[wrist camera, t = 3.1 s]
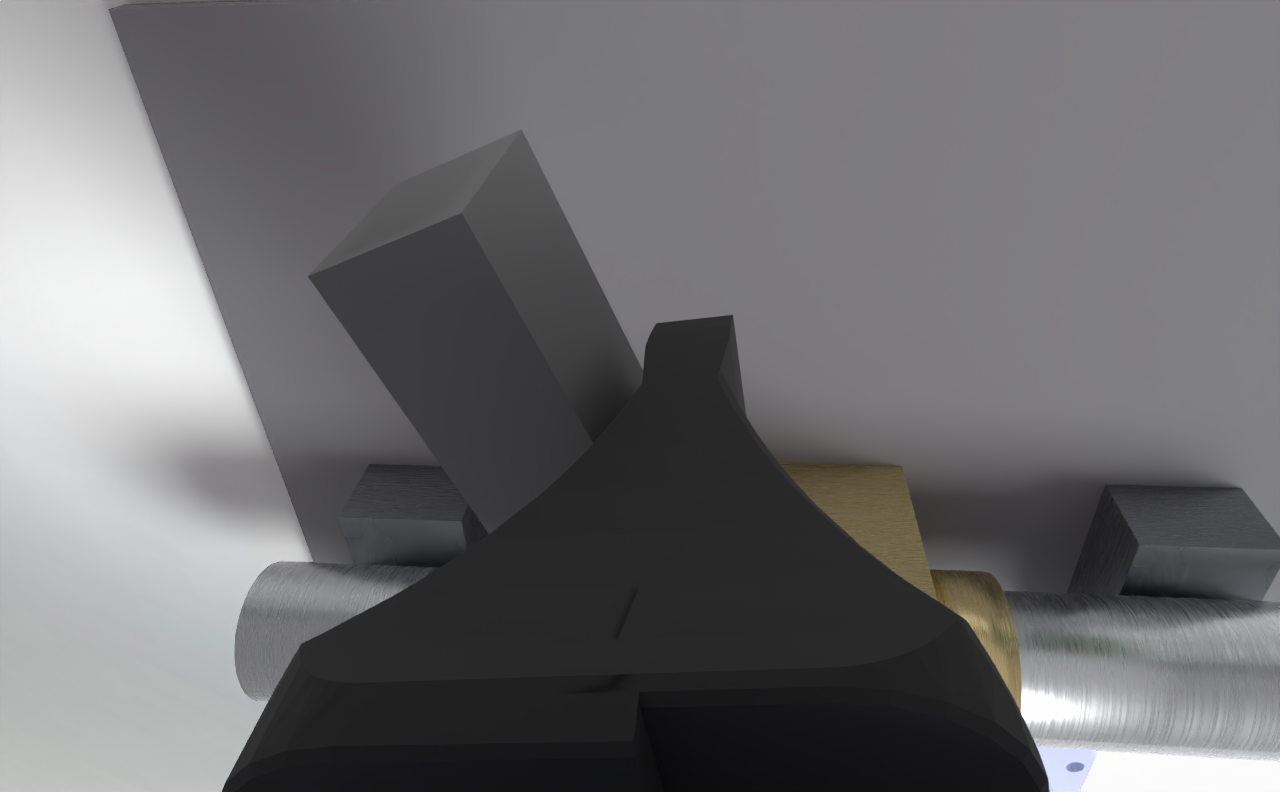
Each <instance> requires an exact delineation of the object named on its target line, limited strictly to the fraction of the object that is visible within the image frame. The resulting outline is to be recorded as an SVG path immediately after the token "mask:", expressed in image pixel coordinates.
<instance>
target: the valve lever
mask: <svg viewBox="0 0 1280 792" xmlns="http://www.w3.org/2000/svg"><path fill="white" fill-rule="evenodd" d="M308 277H309V279H310V280H311V282H312V283H313V284H314V286H315V287H316V289H317V290H318V292H319V293H320V294H321V296H322V297H323V299H324V300H325V301H326V303H327V304H328V306H329V307H330V309H331V310H332V311H333V313H334V314H335V316H336V317H337V319H338V320H339V321H340V323H341V324H342V326H343V327H344V328H345V330H346V331H347V333H348V334H349V336H350V337H351V338H352V340H353V341H354V343H355V344H356V345H357V347H358V348H359V350H360V351H361V353H362V354H363V355H364V357H365V358H366V360H367V361H368V363H369V364H370V365H371V367H372V368H373V370H374V371H375V372H376V374H377V375H378V377H379V378H380V380H381V381H382V382H383V384H384V385H385V387H386V388H387V390H388V391H389V392H390V394H391V395H392V397H393V398H394V399H395V401H396V402H397V404H398V405H399V407H400V408H401V409H402V411H403V412H404V414H405V415H406V416H407V418H408V419H409V421H410V422H411V424H412V425H413V426H414V428H415V429H416V431H417V432H418V434H419V435H420V436H421V438H422V439H423V441H424V442H425V443H426V445H427V446H428V448H429V449H430V451H431V452H432V453H433V455H434V456H435V458H436V459H437V461H438V462H439V463H440V465H441V466H442V468H443V469H444V470H445V472H446V473H447V475H448V476H449V478H450V479H451V480H452V482H453V483H454V485H455V486H456V487H457V489H458V490H459V492H460V493H461V495H462V496H463V497H464V499H465V500H466V502H467V503H468V505H469V506H470V507H471V509H472V510H473V512H474V513H475V514H476V516H477V517H478V519H479V520H480V522H481V523H482V524H483V526H484V527H485V529H486V530H487V532H488V533H489V534H490V533H491V532H493V531H494V530H495V529H496V528H498V527H499V526H500V525H502V524H503V523H504V522H505V521H507V520H508V519H509V518H511V517H512V516H513V515H514V514H516V513H517V512H518V511H520V510H521V509H522V508H523V507H525V506H526V505H527V504H529V503H530V502H531V501H532V500H534V499H535V498H536V497H538V496H539V495H540V494H541V493H542V492H543V491H545V490H546V489H547V488H548V487H549V486H550V485H551V484H552V483H553V482H555V481H556V480H557V479H558V478H559V477H560V476H561V475H562V474H563V473H564V472H565V471H566V470H568V469H569V468H570V467H571V466H572V465H573V464H574V463H575V462H576V461H577V460H578V459H579V458H580V457H581V456H582V455H583V454H584V453H585V452H586V451H587V450H588V449H589V448H590V446H591V445H592V444H593V443H594V442H595V441H596V440H597V438H598V437H599V436H600V435H601V434H602V433H603V431H604V430H605V429H606V428H607V427H608V426H609V424H610V423H611V422H612V421H613V420H614V419H615V417H616V416H617V415H618V414H619V413H620V412H621V410H622V409H623V408H624V407H625V405H626V404H627V403H628V401H629V400H630V399H631V397H632V396H633V395H634V393H635V392H636V391H637V389H638V388H639V387H640V385H641V384H642V379H643V369H642V367H641V365H640V363H639V361H638V359H637V358H636V356H635V354H634V352H633V350H632V348H631V346H630V344H629V342H628V340H627V338H626V336H625V334H624V332H623V330H622V328H621V326H620V324H619V322H618V320H617V318H616V316H615V314H614V312H613V310H612V308H611V306H610V304H609V302H608V300H607V298H606V296H605V294H604V292H603V290H602V288H601V286H600V284H599V282H598V280H597V278H596V276H595V274H594V272H593V270H592V268H591V266H590V264H589V262H588V260H587V258H586V256H585V254H584V252H583V250H582V248H581V246H580V244H579V242H578V240H577V238H576V236H575V234H574V232H573V230H572V228H571V226H570V224H569V223H568V221H567V219H566V217H565V215H564V213H563V211H562V209H561V207H560V205H559V203H558V201H557V199H556V197H555V195H554V193H553V191H552V189H551V187H550V185H549V183H548V181H547V179H546V177H545V175H544V173H543V171H542V169H541V167H540V165H539V163H538V161H537V159H536V157H535V155H534V153H533V151H532V149H531V147H530V145H529V143H528V141H527V139H526V137H525V135H524V133H523V131H522V129H521V130H519V131H516V132H514V133H512V134H510V135H507V136H505V137H503V138H500V139H498V140H496V141H494V142H491V143H489V144H487V145H484V146H482V147H480V148H478V149H475V150H473V151H471V152H468V153H466V154H464V155H462V156H459V157H457V158H455V159H452V160H450V161H448V162H446V163H443V164H441V165H439V166H436V167H434V168H432V169H430V170H427V171H425V172H423V173H420V174H418V175H416V176H413V177H411V178H409V179H407V180H404V181H402V182H400V183H397V184H396V185H395V186H394V187H393V188H392V189H391V190H390V191H389V192H388V193H387V194H386V195H385V196H384V197H383V198H382V200H381V201H380V202H379V203H378V204H377V205H376V206H375V207H374V208H373V209H372V210H371V211H370V212H369V213H368V214H367V215H366V216H365V217H364V218H363V219H362V220H361V221H360V222H359V223H358V225H357V226H356V227H355V228H354V229H353V230H352V231H351V232H350V233H349V234H348V235H347V236H346V237H345V238H344V239H343V240H342V241H341V242H340V243H339V244H338V245H337V246H336V247H335V248H334V250H333V251H332V252H331V253H330V254H329V255H328V256H327V257H326V258H325V259H324V260H323V261H322V262H321V263H320V264H319V265H318V266H317V267H316V268H315V269H314V270H313V271H312V272H311V274H310V275H309V276H308Z"/></svg>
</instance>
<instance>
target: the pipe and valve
mask: <svg viewBox="0 0 1280 792" xmlns="http://www.w3.org/2000/svg"><path fill="white" fill-rule="evenodd" d="M779 464H780V465H781V466H782V467H783V468H784V470H785V471H786V472H787V473H788V475H789V476H790V477H791V478H792V479H793V480H794V481H795V482H796V484H797V485H798V486H799V487H800V488H801V489H802V490H803V491H804V492H805V493H806V494H807V496H808V497H809V498H810V499H811V500H812V501H813V502H814V503H815V504H816V505H817V506H818V507H819V508H820V509H821V510H822V511H824V512H825V513H826V514H827V515H828V516H829V517H830V518H831V519H832V520H833V521H834V522H836V523H837V524H838V525H839V526H840V527H841V528H842V529H843V530H844V531H845V532H846V533H848V534H849V535H850V536H851V537H852V538H853V539H854V540H855V541H856V542H857V543H858V544H860V545H861V546H862V547H863V548H864V549H866V550H867V551H868V552H869V553H871V554H872V555H873V556H874V557H876V558H877V559H878V560H880V561H881V562H882V563H883V564H885V565H886V566H887V567H888V568H890V569H891V570H892V571H894V572H895V573H896V574H897V575H899V576H900V577H902V578H903V579H904V580H906V581H907V582H909V583H910V584H912V585H914V586H915V587H917V588H918V589H920V590H921V591H923V592H924V593H926V594H927V595H929V596H930V597H932V598H934V599H935V600H937V601H938V602H940V603H941V604H943V605H944V606H946V607H947V608H949V609H951V610H952V611H954V612H955V613H957V614H958V615H960V616H961V617H963V618H964V619H965V620H967V622H968V623H969V625H970V626H971V628H972V629H973V631H974V632H975V634H976V635H977V637H978V639H979V640H980V642H981V643H982V645H983V647H984V648H985V650H986V651H987V653H988V655H989V656H990V658H991V659H992V661H993V663H994V664H995V666H996V668H997V669H998V671H999V673H1000V675H1001V676H1002V678H1003V680H1004V682H1005V684H1006V685H1007V687H1008V689H1009V691H1010V692H1011V694H1012V696H1013V698H1014V700H1015V702H1016V704H1017V706H1018V708H1019V710H1020V712H1021V714H1022V716H1023V718H1024V720H1025V722H1026V724H1027V727H1028V729H1029V731H1030V733H1031V735H1032V737H1033V740H1034V742H1035V744H1036V746H1037V747H1044V748H1061V749H1078V750H1095V751H1112V752H1129V753H1146V754H1162V755H1179V756H1196V757H1213V758H1230V759H1247V760H1264V761H1280V602H1271V601H1262V600H1263V598H1264V596H1265V594H1266V592H1267V591H1268V589H1269V587H1270V585H1271V583H1272V582H1273V580H1274V578H1275V576H1276V574H1277V573H1278V571H1279V569H1280V537H1279V535H1278V534H1277V533H1276V531H1275V530H1274V529H1273V528H1272V526H1271V525H1270V524H1269V522H1268V521H1267V520H1266V519H1265V517H1264V516H1263V515H1262V513H1261V512H1260V511H1259V509H1258V508H1257V507H1256V506H1255V504H1254V503H1253V502H1252V500H1251V499H1250V498H1249V496H1248V495H1247V494H1246V493H1245V491H1244V490H1243V489H1242V488H1219V487H1183V486H1147V485H1111V484H1105V487H1104V490H1103V493H1102V495H1101V498H1100V501H1099V504H1098V507H1097V509H1096V512H1095V515H1094V518H1093V520H1092V523H1091V526H1090V529H1089V532H1088V534H1087V537H1086V540H1085V543H1084V546H1083V548H1082V551H1081V554H1080V557H1079V560H1078V562H1077V565H1076V568H1075V571H1074V574H1073V576H1072V579H1071V582H1070V585H1069V588H1068V590H1067V593H1051V592H1026V591H1003V589H1002V587H1001V585H1000V584H999V582H998V581H997V579H996V578H995V577H994V576H993V575H992V574H990V573H989V572H985V571H962V570H936V569H929V566H928V562H927V559H926V555H925V551H924V547H923V543H922V540H921V536H920V532H919V528H918V524H917V520H916V517H915V513H914V509H913V505H912V501H911V498H910V494H909V490H908V486H907V482H906V479H905V475H904V471H903V467H902V466H894V465H855V464H817V463H779ZM338 518H339V521H340V524H341V527H342V530H343V533H344V536H345V539H346V542H347V545H348V548H349V551H350V554H351V557H352V560H353V563H354V564H340V563H315V562H291V561H280V562H276V563H273V564H271V565H270V566H268V567H267V568H266V569H265V570H264V571H263V572H262V573H261V574H260V575H259V576H258V577H257V579H256V580H255V582H254V583H253V585H252V587H251V588H250V590H249V592H248V594H247V596H246V599H245V601H244V604H243V606H242V610H241V613H240V616H239V620H238V625H237V630H236V637H235V666H236V672H237V676H238V680H239V682H240V685H241V687H242V689H243V690H244V692H245V693H246V694H247V695H248V696H249V697H250V698H251V699H253V700H256V701H269V699H270V698H271V696H272V694H273V692H274V690H275V688H276V686H277V685H278V683H279V681H280V679H281V678H282V676H283V674H284V672H285V671H286V669H287V667H288V665H289V664H290V662H291V660H292V658H293V657H294V655H295V653H296V652H297V650H298V648H299V647H300V645H301V644H302V643H304V642H306V641H308V640H310V639H312V638H314V637H316V636H318V635H320V634H322V633H324V632H326V631H328V630H330V629H332V628H333V627H335V626H337V625H339V624H341V623H343V622H345V621H347V620H349V619H350V618H352V617H354V616H356V615H358V614H360V613H362V612H364V611H365V610H367V609H369V608H371V607H373V606H375V605H377V604H379V603H381V602H382V601H384V600H386V599H388V598H390V597H392V596H394V595H395V594H397V593H399V592H400V591H402V590H404V589H406V588H407V587H409V586H411V585H412V584H414V583H416V582H417V581H419V580H421V579H422V578H424V577H425V576H427V575H429V574H430V573H432V572H433V571H435V570H437V569H438V568H440V567H442V566H443V565H445V564H446V563H448V562H449V561H451V560H452V559H454V558H455V557H457V556H458V555H460V554H461V553H463V552H464V551H466V550H467V549H469V548H470V547H472V546H473V545H475V544H476V543H478V542H479V541H480V540H482V539H483V538H485V537H486V536H487V535H489V533H488V532H487V530H486V529H485V527H484V526H483V524H482V523H481V522H480V520H479V519H478V517H477V516H476V514H475V513H474V512H473V510H472V509H471V507H470V506H469V505H468V503H467V502H466V500H465V499H464V497H463V496H462V495H461V493H460V492H459V490H458V489H457V487H456V486H455V485H454V483H453V482H452V480H451V479H450V478H449V476H448V475H447V473H446V472H445V470H444V469H443V468H442V466H425V465H389V464H369V465H368V466H367V468H366V470H365V472H364V473H363V475H362V477H361V479H360V480H359V482H358V484H357V485H356V487H355V489H354V491H353V492H352V494H351V496H350V498H349V499H348V501H347V503H346V504H345V506H344V508H343V510H342V511H341V513H340V515H339V517H338Z"/></svg>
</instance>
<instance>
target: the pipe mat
mask: <svg viewBox="0 0 1280 792" xmlns="http://www.w3.org/2000/svg"><path fill="white" fill-rule="evenodd" d="M109 12H110V14H111V17H112V20H113V23H114V25H115V28H116V31H117V33H118V36H119V39H120V41H121V44H122V47H123V49H124V52H125V55H126V57H127V60H128V63H129V66H130V68H131V71H132V74H133V76H134V79H135V82H136V84H137V87H138V90H139V92H140V95H141V98H142V101H143V103H144V106H145V109H146V111H147V114H148V117H149V119H150V122H151V125H152V127H153V130H154V133H155V135H156V138H157V141H158V144H159V146H160V149H161V152H162V154H163V157H164V160H165V162H166V165H167V168H168V170H169V173H170V176H171V178H172V181H173V184H174V187H175V189H176V192H177V195H178V197H179V200H180V203H181V205H182V208H183V211H184V213H185V216H186V219H187V221H188V224H189V227H190V230H191V232H192V235H193V238H194V240H195V243H196V246H197V248H198V251H199V254H200V256H201V259H202V262H203V265H204V267H205V270H206V273H207V275H208V278H209V281H210V283H211V286H212V289H213V291H214V294H215V297H216V299H217V302H218V305H219V308H220V310H221V313H222V316H223V318H224V321H225V324H226V326H227V329H228V332H229V334H230V337H231V340H232V342H233V345H234V348H235V351H236V353H237V356H238V359H239V361H240V364H241V367H242V369H243V372H244V375H245V377H246V380H247V383H248V385H249V388H250V391H251V394H252V396H253V399H254V402H255V404H256V407H257V410H258V412H259V415H260V418H261V420H262V423H263V426H264V429H265V431H266V434H267V437H268V439H269V442H270V445H271V447H272V450H273V453H274V455H275V458H276V461H277V463H278V466H279V469H280V472H281V474H282V477H283V480H284V482H285V485H286V488H287V490H288V493H289V496H290V498H291V501H292V504H293V506H294V509H295V512H296V515H297V517H298V520H299V523H300V525H301V528H302V531H303V533H304V536H305V539H306V541H307V544H308V547H309V549H310V552H311V555H312V558H313V560H314V562H315V563H340V564H354V563H353V560H352V557H351V554H350V551H349V548H348V545H347V542H346V539H345V536H344V533H343V530H342V527H341V524H340V521H339V518H338V517H339V515H340V513H341V511H342V510H343V508H344V506H345V504H346V503H347V501H348V499H349V498H350V496H351V494H352V492H353V491H354V489H355V487H356V485H357V484H358V482H359V480H360V479H361V477H362V475H363V473H364V472H365V470H366V468H367V466H368V465H369V464H389V465H425V466H441V465H440V463H439V462H438V461H437V459H436V458H435V456H434V455H433V453H432V452H431V451H430V449H429V448H428V446H427V445H426V443H425V442H424V441H423V439H422V438H421V436H420V435H419V434H418V432H417V431H416V429H415V428H414V426H413V425H412V424H411V422H410V421H409V419H408V418H407V416H406V415H405V414H404V412H403V411H402V409H401V408H400V407H399V405H398V404H397V402H396V401H395V399H394V398H393V397H392V395H391V394H390V392H389V391H388V390H387V388H386V387H385V385H384V384H383V382H382V381H381V380H380V378H379V377H378V375H377V374H376V372H375V371H374V370H373V368H372V367H371V365H370V364H369V363H368V361H367V360H366V358H365V357H364V355H363V354H362V353H361V351H360V350H359V348H358V347H357V345H356V344H355V343H354V341H353V340H352V338H351V337H350V336H349V334H348V333H347V331H346V330H345V328H344V327H343V326H342V324H341V323H340V321H339V320H338V319H337V317H336V316H335V314H334V313H333V311H332V310H331V309H330V307H329V306H328V304H327V303H326V301H325V300H324V299H323V297H322V296H321V294H320V293H319V292H318V290H317V289H316V287H315V286H314V284H313V283H312V282H311V280H310V279H309V277H308V276H309V275H310V274H311V272H312V271H313V270H314V269H315V268H316V267H317V266H318V265H319V264H320V263H321V262H322V261H323V260H324V259H325V258H326V257H327V256H328V255H329V254H330V253H331V252H332V251H333V250H334V248H335V247H336V246H337V245H338V244H339V243H340V242H341V241H342V240H343V239H344V238H345V237H346V236H347V235H348V234H349V233H350V232H351V231H352V230H353V229H354V228H355V227H356V226H357V225H358V223H359V222H360V221H361V220H362V219H363V218H364V217H365V216H366V215H367V214H368V213H369V212H370V211H371V210H372V209H373V208H374V207H375V206H376V205H377V204H378V203H379V202H380V201H381V200H382V198H383V197H384V196H385V195H386V194H387V193H388V192H389V191H390V190H391V189H392V188H393V187H394V186H395V185H396V184H397V183H400V182H402V181H404V180H407V179H409V178H411V177H413V176H416V175H418V174H420V173H423V172H425V171H427V170H430V169H432V168H434V167H436V166H439V165H441V164H443V163H446V162H448V161H450V160H452V159H455V158H457V157H459V156H462V155H464V154H466V153H468V152H471V151H473V150H475V149H478V148H480V147H482V146H484V145H487V144H489V143H491V142H494V141H496V140H498V139H500V138H503V137H505V136H507V135H510V134H512V133H514V132H516V131H519V130H521V129H522V131H523V133H524V135H525V137H526V139H527V141H528V143H529V145H530V147H531V149H532V151H533V153H534V155H535V157H536V159H537V161H538V163H539V165H540V167H541V169H542V171H543V173H544V175H545V177H546V179H547V181H548V183H549V185H550V187H551V189H552V191H553V193H554V195H555V197H556V199H557V201H558V203H559V205H560V207H561V209H562V211H563V213H564V215H565V217H566V219H567V221H568V223H569V224H570V226H571V228H572V230H573V232H574V234H575V236H576V238H577V240H578V242H579V244H580V246H581V248H582V250H583V252H584V254H585V256H586V258H587V260H588V262H589V264H590V266H591V268H592V270H593V272H594V274H595V276H596V278H597V280H598V282H599V284H600V286H601V288H602V290H603V292H604V294H605V296H606V298H607V300H608V302H609V304H610V306H611V308H612V310H613V312H614V314H615V316H616V318H617V320H618V322H619V324H620V326H621V328H622V330H623V332H624V334H625V336H626V338H627V340H628V342H629V344H630V346H631V348H632V350H633V352H634V354H635V356H636V358H637V359H638V361H639V363H640V365H641V367H642V369H643V367H644V355H645V346H646V343H647V341H648V338H649V336H650V333H651V332H652V330H653V328H654V326H655V325H656V323H663V322H672V321H681V320H690V319H699V318H708V317H717V316H726V315H733V319H734V326H735V334H736V341H737V349H738V357H739V364H740V372H741V379H742V387H743V395H744V402H745V410H746V417H747V419H748V420H749V422H750V423H751V425H752V427H753V428H754V430H755V431H756V433H757V434H758V436H759V437H760V439H761V440H762V441H763V443H764V444H765V446H766V447H767V448H768V450H769V451H770V452H771V454H772V455H773V456H774V457H775V459H776V460H777V461H778V462H779V463H817V464H855V465H894V466H902V467H903V471H904V475H905V479H906V482H907V486H908V490H909V494H910V498H911V501H912V505H913V509H914V513H915V517H916V520H917V524H918V528H919V532H920V536H921V540H922V543H923V547H924V551H925V555H926V559H927V562H928V566H929V569H936V570H962V571H985V572H989V573H990V574H992V575H993V576H994V577H995V578H996V579H997V581H998V582H999V584H1000V585H1001V587H1002V589H1003V591H1026V592H1051V593H1067V590H1068V588H1069V585H1070V582H1071V579H1072V576H1073V574H1074V571H1075V568H1076V565H1077V562H1078V560H1079V557H1080V554H1081V551H1082V548H1083V546H1084V543H1085V540H1086V537H1087V534H1088V532H1089V529H1090V526H1091V523H1092V520H1093V518H1094V515H1095V512H1096V509H1097V507H1098V504H1099V501H1100V498H1101V495H1102V493H1103V490H1104V487H1105V484H1111V485H1147V486H1183V487H1219V488H1242V489H1243V490H1244V491H1245V493H1246V494H1247V495H1248V496H1249V498H1250V499H1251V500H1252V502H1253V503H1254V504H1255V506H1256V507H1257V508H1258V509H1259V511H1260V512H1261V513H1262V515H1263V516H1264V517H1265V519H1266V520H1267V521H1268V522H1269V524H1270V525H1271V526H1272V528H1273V529H1274V530H1275V531H1276V533H1277V534H1278V535H1279V537H1280V0H255V1H224V2H194V3H164V4H133V5H122V6H119V7H115V8H112V9H109ZM1262 601H1271V602H1280V569H1279V571H1278V573H1277V574H1276V576H1275V578H1274V580H1273V582H1272V583H1271V585H1270V587H1269V589H1268V591H1267V592H1266V594H1265V596H1264V598H1263V600H1262Z"/></svg>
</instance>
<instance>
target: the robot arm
mask: <svg viewBox="0 0 1280 792" xmlns="http://www.w3.org/2000/svg"><path fill="white" fill-rule="evenodd" d="M1095 759H1096V751H1095V750H1078V749H1061V748H1044V747H1037V746H1036V744H1035V742H1034V740H1033V737H1032V735H1031V733H1030V731H1029V729H1028V727H1027V724H1026V722H1025V720H1024V718H1023V716H1022V714H1021V712H1020V710H1019V708H1018V706H1017V704H1016V702H1015V700H1014V698H1013V696H1012V694H1011V692H1010V691H1009V689H1008V687H1007V685H1006V684H1005V682H1004V680H1003V678H1002V676H1001V675H1000V673H999V671H998V669H997V668H996V666H995V664H994V663H993V661H992V659H991V658H990V656H989V655H988V653H987V651H986V650H985V648H984V647H983V645H982V643H981V642H980V640H979V639H978V637H977V635H976V634H975V632H974V631H973V629H972V628H971V626H970V625H969V623H968V622H967V620H965V619H964V618H963V617H961V616H960V615H958V614H957V613H955V612H954V611H952V610H951V609H949V608H947V607H946V606H944V605H943V604H941V603H940V602H938V601H937V600H935V599H934V598H932V597H930V596H929V595H927V594H926V593H924V592H923V591H921V590H920V589H918V588H917V587H915V586H914V585H912V584H910V583H909V582H907V581H906V580H904V579H903V578H902V577H900V576H899V575H897V574H896V573H895V572H894V571H892V570H891V569H890V568H888V567H887V566H886V565H885V564H883V563H882V562H881V561H880V560H878V559H877V558H876V557H874V556H873V555H872V554H871V553H869V552H868V551H867V550H866V549H864V548H863V547H862V546H861V545H860V544H858V543H857V542H856V541H855V540H854V539H853V538H852V537H851V536H850V535H849V534H848V533H846V532H845V531H844V530H843V529H842V528H841V527H840V526H839V525H838V524H837V523H836V522H834V521H833V520H832V519H831V518H830V517H829V516H828V515H827V514H826V513H825V512H824V511H822V510H821V509H820V508H819V507H818V506H817V505H816V504H815V503H814V502H813V501H812V500H811V499H810V498H809V497H808V496H807V494H806V493H805V492H804V491H803V490H802V489H801V488H800V487H799V486H798V485H797V484H796V482H795V481H794V480H793V479H792V478H791V477H790V476H789V475H788V473H787V472H786V471H785V470H784V468H783V467H782V466H781V465H780V464H779V462H778V461H777V460H776V459H775V457H774V456H773V455H772V454H771V452H770V451H769V450H768V448H767V447H766V446H765V444H764V443H763V441H762V440H761V439H760V437H759V436H758V434H757V433H756V431H755V430H754V428H753V427H752V425H751V423H750V422H749V420H748V419H747V417H746V410H745V402H744V395H743V387H742V379H741V372H740V364H739V357H738V349H737V341H736V334H735V326H734V319H733V315H726V316H717V317H708V318H699V319H690V320H681V321H672V322H663V323H656V325H655V326H654V328H653V330H652V332H651V333H650V336H649V338H648V341H647V343H646V346H645V355H644V367H643V379H642V384H641V385H640V387H639V388H638V389H637V391H636V392H635V393H634V395H633V396H632V397H631V399H630V400H629V401H628V403H627V404H626V405H625V407H624V408H623V409H622V410H621V412H620V413H619V414H618V415H617V416H616V417H615V419H614V420H613V421H612V422H611V423H610V424H609V426H608V427H607V428H606V429H605V430H604V431H603V433H602V434H601V435H600V436H599V437H598V438H597V440H596V441H595V442H594V443H593V444H592V445H591V446H590V448H589V449H588V450H587V451H586V452H585V453H584V454H583V455H582V456H581V457H580V458H579V459H578V460H577V461H576V462H575V463H574V464H573V465H572V466H571V467H570V468H569V469H568V470H566V471H565V472H564V473H563V474H562V475H561V476H560V477H559V478H558V479H557V480H556V481H555V482H553V483H552V484H551V485H550V486H549V487H548V488H547V489H546V490H545V491H543V492H542V493H541V494H540V495H539V496H538V497H536V498H535V499H534V500H532V501H531V502H530V503H529V504H527V505H526V506H525V507H523V508H522V509H521V510H520V511H518V512H517V513H516V514H514V515H513V516H512V517H511V518H509V519H508V520H507V521H505V522H504V523H503V524H502V525H500V526H499V527H498V528H496V529H495V530H494V531H493V532H491V533H490V534H489V535H487V536H486V537H485V538H483V539H482V540H480V541H479V542H478V543H476V544H475V545H473V546H472V547H470V548H469V549H467V550H466V551H464V552H463V553H461V554H460V555H458V556H457V557H455V558H454V559H452V560H451V561H449V562H448V563H446V564H445V565H443V566H442V567H440V568H438V569H437V570H435V571H433V572H432V573H430V574H429V575H427V576H425V577H424V578H422V579H421V580H419V581H417V582H416V583H414V584H412V585H411V586H409V587H407V588H406V589H404V590H402V591H400V592H399V593H397V594H395V595H394V596H392V597H390V598H388V599H386V600H384V601H382V602H381V603H379V604H377V605H375V606H373V607H371V608H369V609H367V610H365V611H364V612H362V613H360V614H358V615H356V616H354V617H352V618H350V619H349V620H347V621H345V622H343V623H341V624H339V625H337V626H335V627H333V628H332V629H330V630H328V631H326V632H324V633H322V634H320V635H318V636H316V637H314V638H312V639H310V640H308V641H306V642H304V643H302V644H301V645H300V647H299V648H298V650H297V652H296V653H295V655H294V657H293V658H292V660H291V662H290V664H289V665H288V667H287V669H286V671H285V672H284V674H283V676H282V678H281V679H280V681H279V683H278V685H277V686H276V688H275V690H274V692H273V694H272V696H271V698H270V699H269V701H268V703H267V705H266V707H265V709H264V711H263V713H262V715H261V716H260V718H259V720H258V722H257V724H256V726H255V728H254V730H253V732H252V733H251V735H250V737H249V739H248V741H247V743H246V745H245V747H244V749H243V751H242V752H241V754H240V756H239V758H238V760H237V762H236V764H235V766H234V768H233V769H232V771H231V773H230V775H229V777H228V779H227V781H226V783H225V785H224V788H223V790H222V792H1080V791H1081V789H1082V787H1083V784H1084V782H1085V780H1086V778H1087V776H1088V774H1089V771H1090V769H1091V767H1092V765H1093V763H1094V761H1095Z"/></svg>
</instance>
